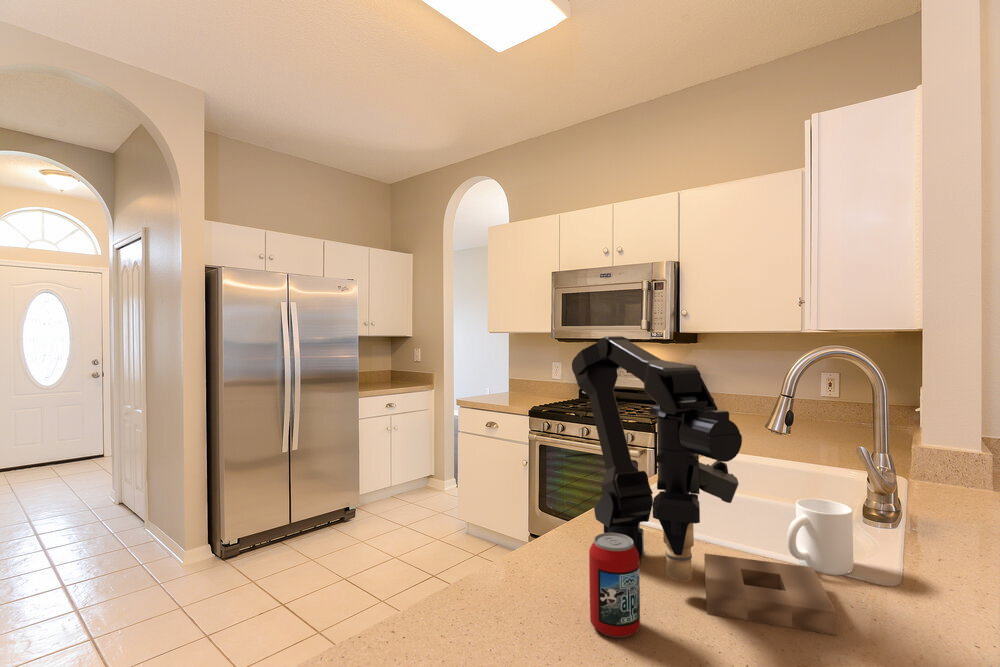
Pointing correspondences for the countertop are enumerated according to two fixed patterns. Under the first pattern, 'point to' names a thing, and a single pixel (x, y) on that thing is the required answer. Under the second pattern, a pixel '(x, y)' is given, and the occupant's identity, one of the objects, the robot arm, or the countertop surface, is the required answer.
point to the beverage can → (614, 585)
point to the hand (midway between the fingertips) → (678, 548)
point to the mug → (822, 536)
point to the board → (768, 593)
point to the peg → (680, 557)
